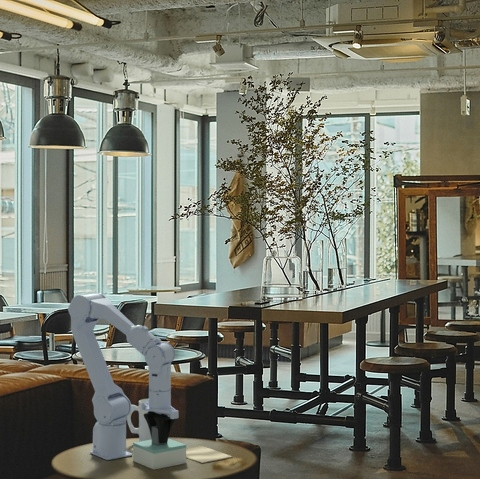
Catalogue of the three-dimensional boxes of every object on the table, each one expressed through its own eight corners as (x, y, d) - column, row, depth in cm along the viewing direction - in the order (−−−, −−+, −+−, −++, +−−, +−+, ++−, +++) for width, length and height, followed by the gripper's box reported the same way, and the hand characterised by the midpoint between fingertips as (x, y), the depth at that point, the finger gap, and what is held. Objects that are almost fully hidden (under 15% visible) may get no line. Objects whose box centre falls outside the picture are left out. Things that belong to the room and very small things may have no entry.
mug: (163, 440, 261) (163, 398, 261) (161, 446, 255) (161, 403, 254) (128, 440, 261) (128, 398, 261) (125, 446, 255) (125, 403, 254)
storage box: (133, 460, 239) (133, 445, 239) (164, 454, 245) (164, 440, 245) (153, 469, 231) (153, 453, 231) (186, 463, 238) (186, 447, 237)
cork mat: (172, 452, 248) (172, 451, 248) (201, 446, 254) (201, 445, 254) (202, 463, 237) (202, 462, 237) (232, 457, 243) (232, 456, 243)
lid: (133, 448, 239) (133, 425, 239) (164, 443, 245) (165, 420, 245) (153, 456, 231) (154, 433, 231) (186, 450, 237) (186, 427, 237)
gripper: (132, 387, 241) (131, 438, 241) (162, 395, 230) (162, 449, 230) (154, 384, 245) (154, 434, 246) (185, 392, 234) (185, 445, 234)
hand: (159, 441), depth 238 cm, fingers closed on lid, 3 cm apart
